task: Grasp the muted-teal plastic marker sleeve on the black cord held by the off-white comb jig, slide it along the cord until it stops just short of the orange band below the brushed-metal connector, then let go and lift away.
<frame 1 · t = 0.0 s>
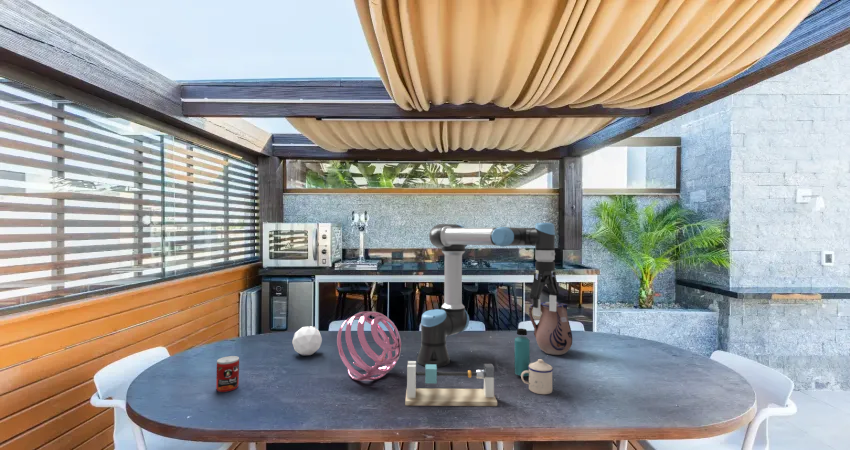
hand: (545, 313, 153), 28 cm above the table, fingers open, 13 cm apart
marker sleeve: (430, 373, 137), point 9 cm above the table, slide at 0.0 cm
cord jig: (450, 398, 137), on the table
spiral basket: (370, 377, 157), on the table
canned food: (227, 388, 145), on the table
ceramic pitcher: (550, 353, 193), on the table
beverage bottle: (522, 377, 159), on the table
teacup with lid: (536, 390, 146), on the table
geodesic sphere: (307, 354, 187), on the table
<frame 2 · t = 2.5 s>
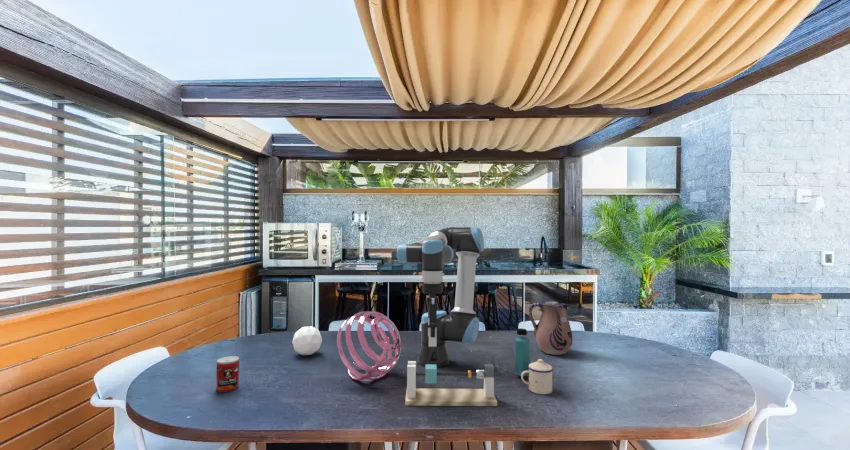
hand: (432, 340, 138), 21 cm above the table, fingers open, 13 cm apart
nothing on the table moved.
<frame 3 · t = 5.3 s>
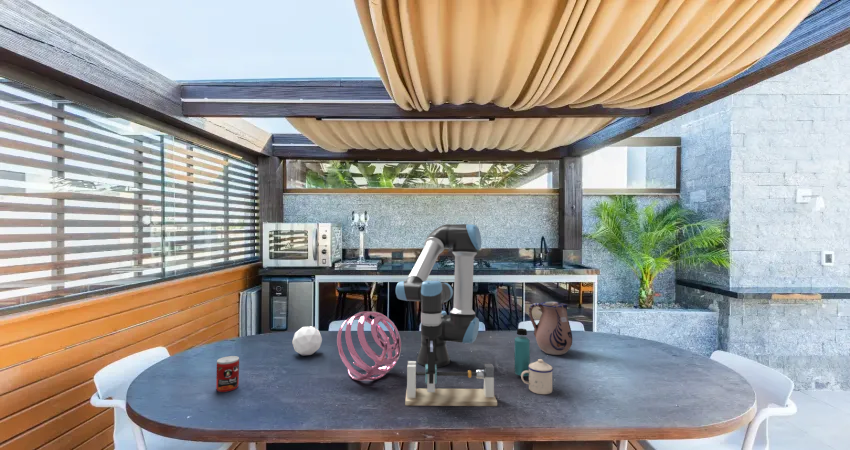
hand: (430, 388, 137), 4 cm above the table, fingers closed on marker sleeve, 5 cm apart
marker sleeve: (430, 373, 137), point 9 cm above the table, slide at 0.0 cm, touching gripper
everything else where it was.
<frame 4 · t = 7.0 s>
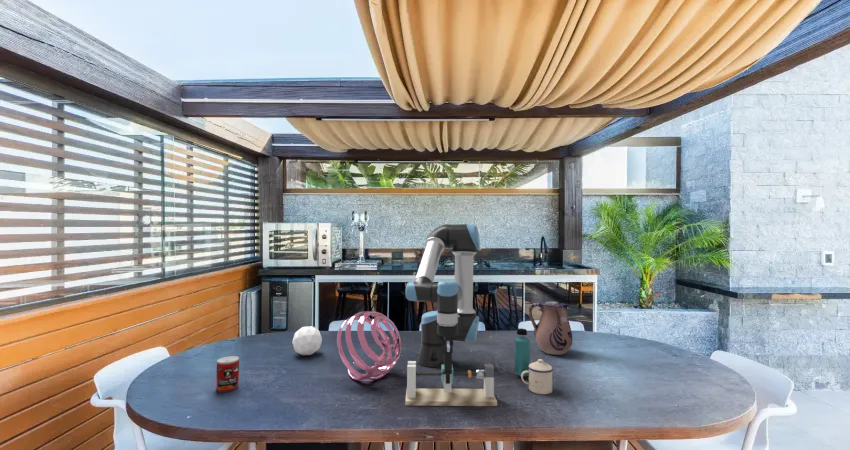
hand: (447, 388, 137), 4 cm above the table, fingers closed on marker sleeve, 5 cm apart
marker sleeve: (447, 373, 137), point 9 cm above the table, slide at 5.9 cm, touching gripper
everything else where it was.
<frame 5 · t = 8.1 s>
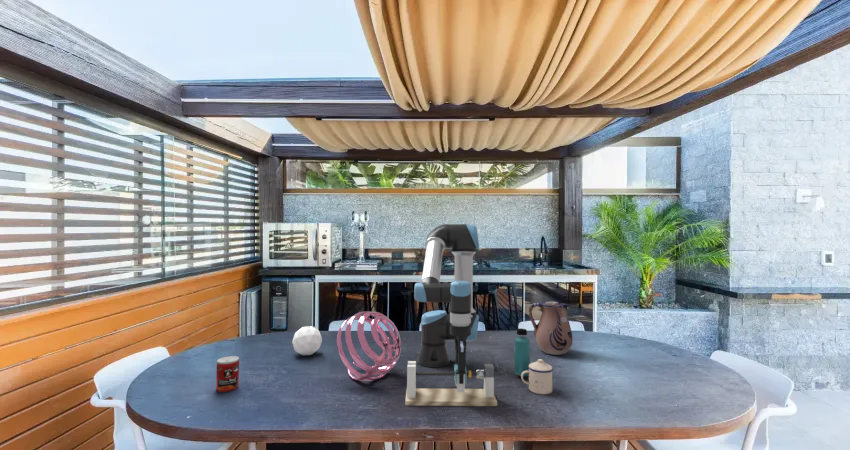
hand: (460, 388, 137), 4 cm above the table, fingers closed on marker sleeve, 5 cm apart
marker sleeve: (460, 373, 137), point 9 cm above the table, slide at 10.6 cm, touching gripper
everything else where it was.
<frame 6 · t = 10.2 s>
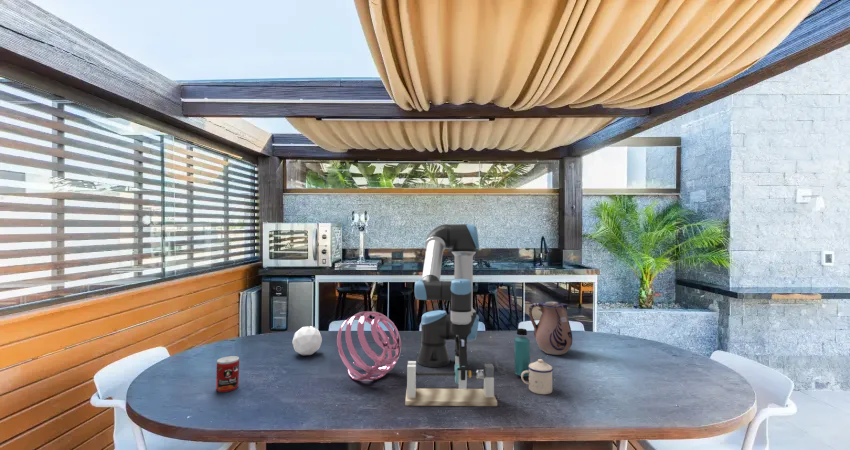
hand: (460, 380, 137), 6 cm above the table, fingers open, 13 cm apart
marker sleeve: (460, 373, 137), point 9 cm above the table, slide at 10.8 cm
everything else where it was.
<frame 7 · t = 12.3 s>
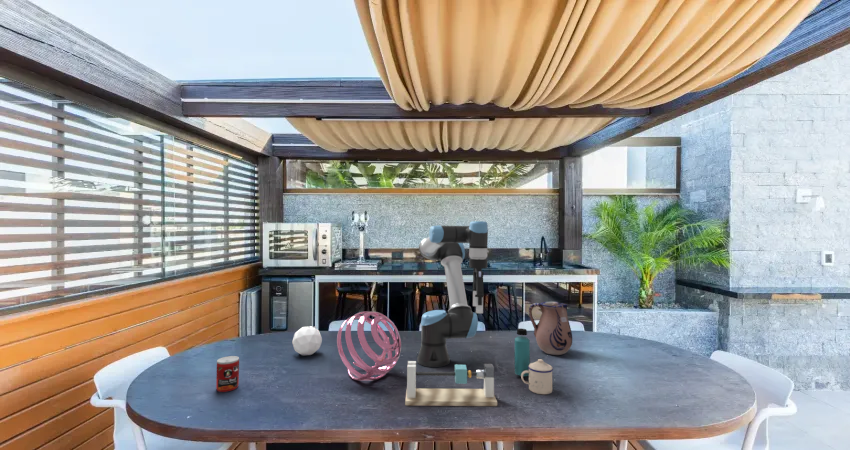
hand: (477, 309, 157), 29 cm above the table, fingers open, 13 cm apart
nothing on the table moved.
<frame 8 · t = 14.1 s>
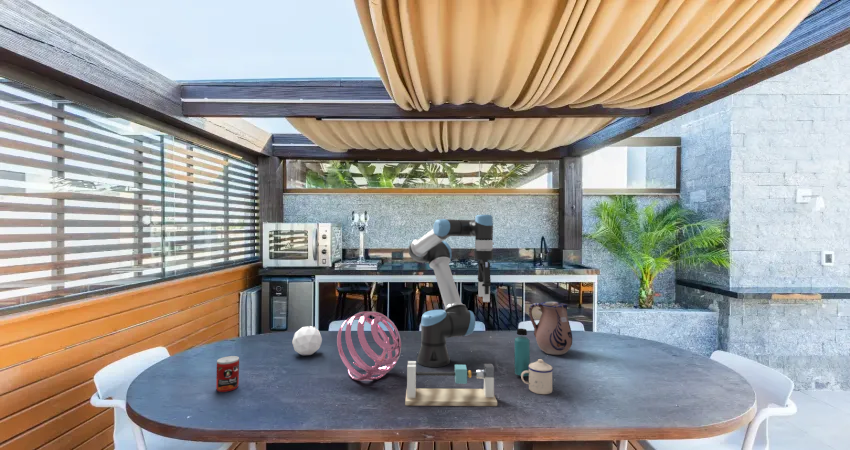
hand: (483, 299, 164), 32 cm above the table, fingers open, 13 cm apart
nothing on the table moved.
at the end: marker sleeve slide at 10.8 cm; the gripper is holding nothing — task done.
